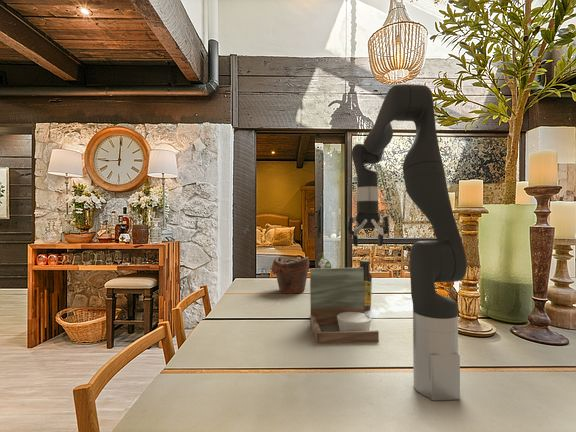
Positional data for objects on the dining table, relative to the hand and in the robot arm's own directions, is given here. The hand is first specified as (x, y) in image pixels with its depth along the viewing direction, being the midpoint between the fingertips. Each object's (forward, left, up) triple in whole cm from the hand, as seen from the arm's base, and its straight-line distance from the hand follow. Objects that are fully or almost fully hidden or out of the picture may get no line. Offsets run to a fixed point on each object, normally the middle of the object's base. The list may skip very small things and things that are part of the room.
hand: (367, 246), depth 118 cm
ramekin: (-7, +7, -28) cm, 30 cm away
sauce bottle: (+20, -4, -28) cm, 35 cm away
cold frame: (-7, +10, -28) cm, 31 cm away
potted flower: (+10, +14, -28) cm, 33 cm away
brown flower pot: (+54, +24, -28) cm, 66 cm away
